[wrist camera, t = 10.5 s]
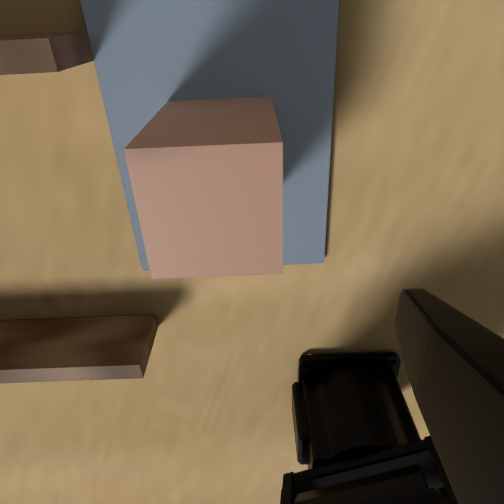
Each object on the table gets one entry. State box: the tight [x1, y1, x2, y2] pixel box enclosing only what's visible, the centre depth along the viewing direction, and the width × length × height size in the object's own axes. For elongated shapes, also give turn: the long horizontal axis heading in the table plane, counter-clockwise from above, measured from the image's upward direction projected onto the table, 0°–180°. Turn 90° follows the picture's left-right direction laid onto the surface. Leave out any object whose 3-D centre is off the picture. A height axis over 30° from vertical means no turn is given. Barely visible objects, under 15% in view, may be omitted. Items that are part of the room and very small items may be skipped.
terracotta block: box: [124, 97, 283, 279], centre depth 15 cm, size 4×4×7 cm
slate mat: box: [80, 0, 339, 270], centre depth 18 cm, size 10×13×1 cm
